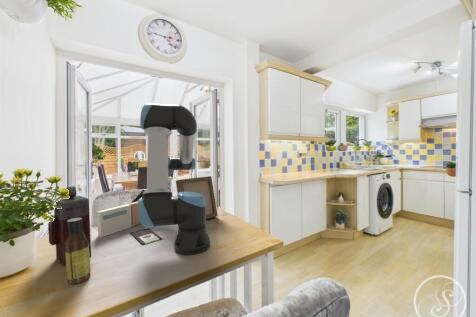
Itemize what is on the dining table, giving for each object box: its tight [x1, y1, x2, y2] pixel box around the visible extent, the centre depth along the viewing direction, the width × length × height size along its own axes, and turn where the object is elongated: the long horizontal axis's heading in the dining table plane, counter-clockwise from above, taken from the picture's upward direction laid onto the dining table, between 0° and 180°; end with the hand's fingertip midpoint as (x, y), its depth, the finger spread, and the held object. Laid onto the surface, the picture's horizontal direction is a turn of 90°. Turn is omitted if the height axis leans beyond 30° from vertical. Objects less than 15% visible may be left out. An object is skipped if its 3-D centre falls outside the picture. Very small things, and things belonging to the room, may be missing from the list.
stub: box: [128, 201, 141, 227], centre depth 123 cm, size 8×3×12 cm, turn 150°
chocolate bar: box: [129, 227, 163, 246], centre depth 106 cm, size 9×1×18 cm
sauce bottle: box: [65, 218, 92, 285], centre depth 71 cm, size 7×6×20 cm
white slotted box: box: [96, 203, 133, 238], centre depth 112 cm, size 16×3×12 cm, turn 150°
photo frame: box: [175, 175, 218, 220], centre depth 130 cm, size 15×22×25 cm
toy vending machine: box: [47, 185, 92, 267], centre depth 84 cm, size 9×11×28 cm
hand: (134, 216), depth 121 cm, fingers open, 10 cm apart
